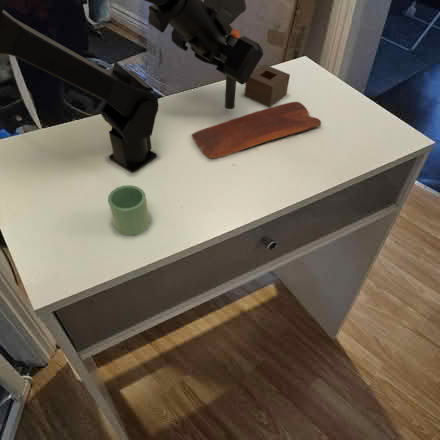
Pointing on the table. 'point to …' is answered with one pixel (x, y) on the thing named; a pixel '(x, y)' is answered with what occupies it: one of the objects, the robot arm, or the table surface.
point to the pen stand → (267, 85)
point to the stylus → (231, 83)
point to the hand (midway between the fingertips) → (236, 69)
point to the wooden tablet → (254, 129)
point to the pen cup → (129, 210)
